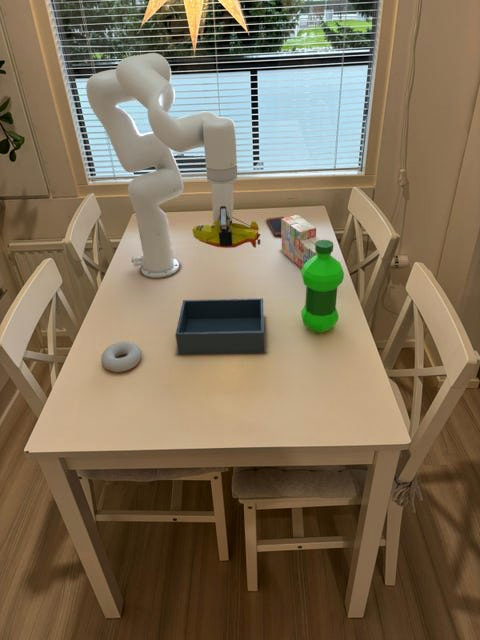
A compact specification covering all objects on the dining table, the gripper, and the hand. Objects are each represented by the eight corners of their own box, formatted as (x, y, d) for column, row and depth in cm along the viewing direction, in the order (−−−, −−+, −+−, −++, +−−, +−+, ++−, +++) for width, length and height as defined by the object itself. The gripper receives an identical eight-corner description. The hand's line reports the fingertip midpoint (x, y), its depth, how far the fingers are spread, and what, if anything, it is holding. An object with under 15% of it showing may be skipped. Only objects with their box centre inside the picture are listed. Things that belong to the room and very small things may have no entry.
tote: (178, 354, 122) (175, 334, 118) (185, 319, 135) (183, 300, 131) (264, 353, 121) (263, 332, 117) (263, 317, 134) (263, 298, 130)
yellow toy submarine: (258, 253, 124) (257, 217, 118) (191, 250, 127) (187, 214, 121) (262, 242, 129) (261, 207, 123) (197, 239, 132) (193, 205, 126)
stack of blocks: (329, 274, 151) (332, 239, 144) (312, 279, 149) (314, 243, 142) (296, 246, 167) (297, 213, 160) (280, 250, 165) (281, 217, 158)
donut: (94, 366, 120) (123, 379, 115) (91, 356, 118) (120, 368, 113) (122, 345, 127) (150, 356, 122) (119, 334, 125) (148, 345, 120)
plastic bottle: (336, 340, 124) (344, 255, 109) (296, 335, 127) (298, 251, 112) (340, 318, 132) (349, 236, 117) (303, 313, 134) (306, 232, 120)
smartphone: (275, 234, 173) (266, 218, 185) (275, 237, 174) (266, 220, 186) (294, 232, 174) (284, 216, 186) (293, 234, 175) (283, 218, 187)
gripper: (208, 162, 123) (214, 226, 134) (204, 185, 109) (210, 255, 120) (237, 160, 123) (240, 225, 133) (236, 184, 109) (240, 254, 119)
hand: (226, 238), depth 126 cm, fingers closed on yellow toy submarine, 6 cm apart
